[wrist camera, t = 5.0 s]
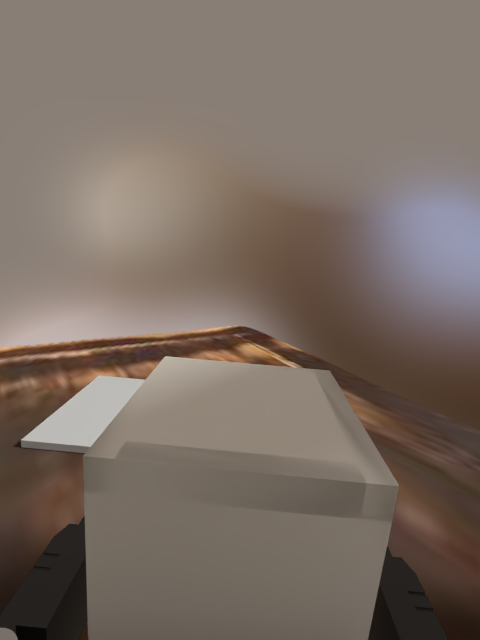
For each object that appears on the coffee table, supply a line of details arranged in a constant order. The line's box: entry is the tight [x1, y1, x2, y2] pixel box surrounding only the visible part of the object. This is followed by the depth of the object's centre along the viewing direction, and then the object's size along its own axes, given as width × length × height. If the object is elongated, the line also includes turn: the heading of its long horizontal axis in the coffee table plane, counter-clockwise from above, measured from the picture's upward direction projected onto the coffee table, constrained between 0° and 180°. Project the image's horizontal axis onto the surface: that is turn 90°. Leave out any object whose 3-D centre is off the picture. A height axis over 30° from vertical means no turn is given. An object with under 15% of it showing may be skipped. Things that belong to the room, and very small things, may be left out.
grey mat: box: [21, 376, 145, 453], centre depth 32 cm, size 13×13×1 cm
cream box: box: [83, 356, 399, 640], centre depth 11 cm, size 6×6×12 cm
